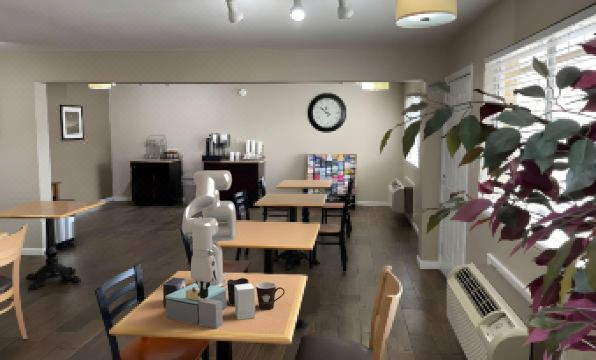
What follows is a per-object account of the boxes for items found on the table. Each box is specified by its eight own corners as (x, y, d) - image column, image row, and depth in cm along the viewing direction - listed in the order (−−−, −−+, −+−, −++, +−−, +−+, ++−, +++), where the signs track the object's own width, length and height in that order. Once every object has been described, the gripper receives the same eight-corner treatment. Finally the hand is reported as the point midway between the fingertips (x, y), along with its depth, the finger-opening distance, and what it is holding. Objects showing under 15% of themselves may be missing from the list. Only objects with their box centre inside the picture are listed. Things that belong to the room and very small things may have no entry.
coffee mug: (253, 309, 213) (252, 287, 212) (261, 303, 221) (261, 281, 220) (277, 313, 209) (277, 290, 208) (285, 306, 217) (285, 284, 216)
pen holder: (234, 297, 228) (233, 276, 227) (252, 300, 225) (252, 278, 223) (223, 304, 219) (223, 283, 218) (242, 307, 216) (242, 285, 215)
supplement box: (255, 318, 204) (254, 288, 202) (237, 320, 202) (236, 290, 200) (252, 311, 211) (251, 282, 210) (234, 313, 209) (234, 284, 207)
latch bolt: (190, 295, 202) (190, 285, 201) (202, 297, 199) (202, 287, 199) (185, 298, 199) (185, 288, 199) (198, 300, 197) (197, 290, 196)
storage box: (196, 302, 222) (195, 281, 221) (243, 311, 211) (243, 289, 210) (166, 318, 204) (165, 295, 203) (216, 328, 193) (215, 304, 192)
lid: (195, 285, 221) (195, 282, 221) (226, 290, 214) (226, 287, 214) (165, 298, 203) (165, 295, 203) (197, 304, 196) (197, 301, 196)
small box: (176, 308, 215) (175, 285, 214) (162, 307, 217) (161, 284, 216) (186, 300, 226) (186, 277, 224) (173, 299, 227) (172, 277, 226)
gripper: (224, 252, 195) (225, 297, 197) (193, 248, 202) (194, 292, 204) (212, 257, 188) (214, 303, 190) (181, 252, 195) (183, 298, 197)
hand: (204, 297), depth 197 cm, fingers closed
